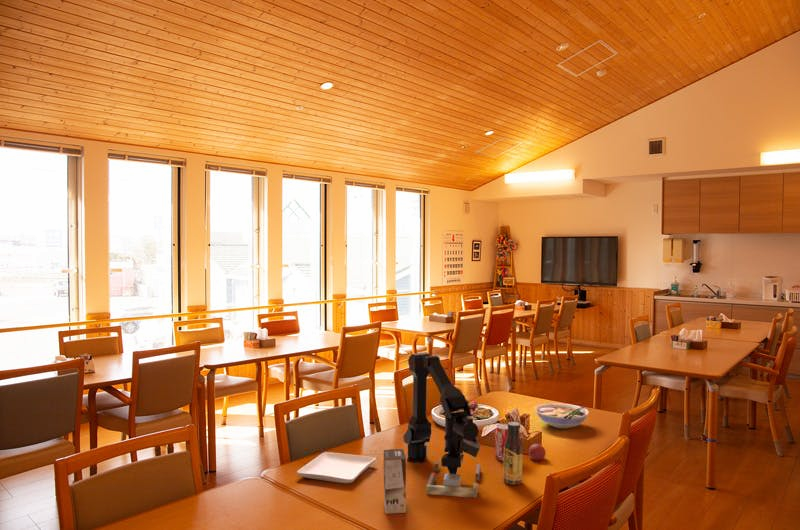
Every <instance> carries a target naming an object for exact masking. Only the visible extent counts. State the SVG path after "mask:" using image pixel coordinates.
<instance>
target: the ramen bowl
mask: <svg viewBox="0 0 800 530" xmlns="http://www.w3.org/2000/svg"><path fill="white" fill-rule="evenodd" d="M585 407H586V404H584V405H582V406H579V405H574V404H570V403H560V402H559V403H543V404H540V405H539V404H538V405H536V406H535V407H534V410H535V412H536V414H537V415H538V417H539V419H540V420H541V421H542V422H543V423H545V424H547V425H549V426H552V427H553V428H554V429H557V430H558V429H559V430H569V429H570V428H574V427H576V426H579V425H580V424H582V423H583V422H584V421H585V420H586V418H587V416H588V414H589V413H590V412H589V410H588V409H587V408H585Z"/></svg>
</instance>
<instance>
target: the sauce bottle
mask: <svg viewBox="0 0 800 530" xmlns="http://www.w3.org/2000/svg"><path fill="white" fill-rule="evenodd" d="M507 425H508V436H507V439H506V442H505V445H504V457H503V461H502V462H503V463H502V464H503V465H502V469H503V470H502V477H503V478H502V480H503V482H504V483H505V484H507V485H511V486H517V485H520V484H522V482H523V481H522V479H523V457H524V456H523V455H524V454H523V453H524V452H523V446H524V445H523V443H522V440H521V438H520V429H521V423H520V422H517V421H509V422H507Z"/></svg>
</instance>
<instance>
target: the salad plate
mask: <svg viewBox="0 0 800 530" xmlns="http://www.w3.org/2000/svg"><path fill="white" fill-rule="evenodd" d="M376 460H377V457H374V456H368V455H367V456H366V455H360V454H359V455H358V454H349V453H341V452H340V453H339V452H331V451H330V452H329V451H324V452H322V453H321V454H319V455H317V456H316V457H315V458H314V459H312V460H310V462H308V463H307V464H305V465H304V466H303V467H301V468H299V469H298V470H297V471H296V472H297V474H298V475H300V476H301V477H304V478H307V479H311V480H312V479H313V480H319V481H326V482H332V483H338V484H339V483H340V484H350V483H353V482H354V481H355V480H356V479H357V478H358V477H359V476H360V475H361V474H362V473H363V472H365V471H366V470H367V469H368V468H369V467H370V466H372V465H373V464H374V463H375V462H376Z"/></svg>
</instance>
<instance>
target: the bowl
mask: <svg viewBox="0 0 800 530" xmlns="http://www.w3.org/2000/svg"><path fill="white" fill-rule="evenodd" d="M466 401H467V404H468V406H469V408H470V410H471V411H470V412H471V416H467V417H469V418H472V419H473V423H475V424H476V425H477V427H478V426H482V425H486V424H492V423H495V424H496V423H497V421H498V420H499V416H500V415H499V411H498V410H497V409H496V408H494V407H491V406H489V405H485V404H479V403H478V402H477V401H475V400H473V401H471V402H469V401H468V400H467V398H466ZM462 411H464V410H462ZM443 412H444V410H443V408H442V405H440V404H439V405H438V406H436V407H434V408H432V410H431V417H432V419H433V421H434V422H435V423H436V424H437V425H439V426H441V427H443V428H445V416H444V415H442V413H443ZM455 412H461V411H455Z"/></svg>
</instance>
